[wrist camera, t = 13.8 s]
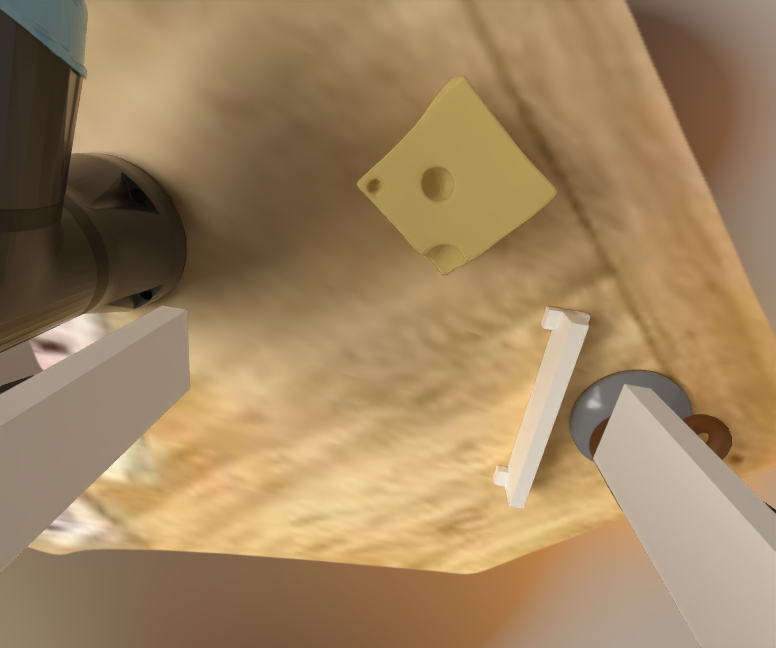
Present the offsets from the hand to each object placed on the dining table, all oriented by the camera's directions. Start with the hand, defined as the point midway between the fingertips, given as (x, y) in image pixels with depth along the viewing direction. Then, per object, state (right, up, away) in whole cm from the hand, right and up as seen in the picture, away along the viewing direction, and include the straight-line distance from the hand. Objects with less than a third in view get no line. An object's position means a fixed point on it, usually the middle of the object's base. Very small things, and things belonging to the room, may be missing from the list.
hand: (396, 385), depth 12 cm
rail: (+16, -7, +32) cm, 37 cm away
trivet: (+26, -8, +32) cm, 42 cm away
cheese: (+5, +15, +25) cm, 29 cm away
